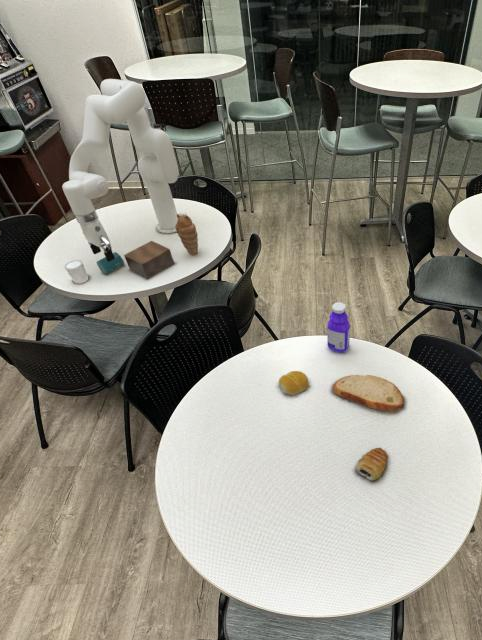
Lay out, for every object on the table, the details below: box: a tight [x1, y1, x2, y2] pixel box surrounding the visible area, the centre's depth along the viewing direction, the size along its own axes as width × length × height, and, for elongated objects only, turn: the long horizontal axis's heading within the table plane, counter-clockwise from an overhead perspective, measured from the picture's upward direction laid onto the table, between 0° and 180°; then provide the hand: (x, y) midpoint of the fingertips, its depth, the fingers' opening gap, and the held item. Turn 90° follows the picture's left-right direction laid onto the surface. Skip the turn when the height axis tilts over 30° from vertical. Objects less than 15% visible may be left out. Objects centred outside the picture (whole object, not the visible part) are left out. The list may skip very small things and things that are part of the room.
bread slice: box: [332, 374, 405, 412], centre depth 126 cm, size 18×18×4 cm
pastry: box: [354, 447, 388, 481], centre depth 110 cm, size 9×7×4 cm
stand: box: [123, 240, 175, 280], centre depth 176 cm, size 14×12×7 cm
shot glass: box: [64, 259, 89, 284], centre depth 171 cm, size 7×7×7 cm
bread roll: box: [278, 370, 309, 396], centre depth 130 cm, size 8×9×4 cm
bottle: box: [326, 302, 351, 354], centre depth 135 cm, size 7×6×17 cm
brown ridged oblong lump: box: [175, 213, 199, 256], centre depth 178 cm, size 9×8×18 cm
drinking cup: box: [96, 251, 125, 275], centre depth 176 cm, size 8×6×6 cm
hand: (104, 256), depth 173 cm, fingers open, 9 cm apart
